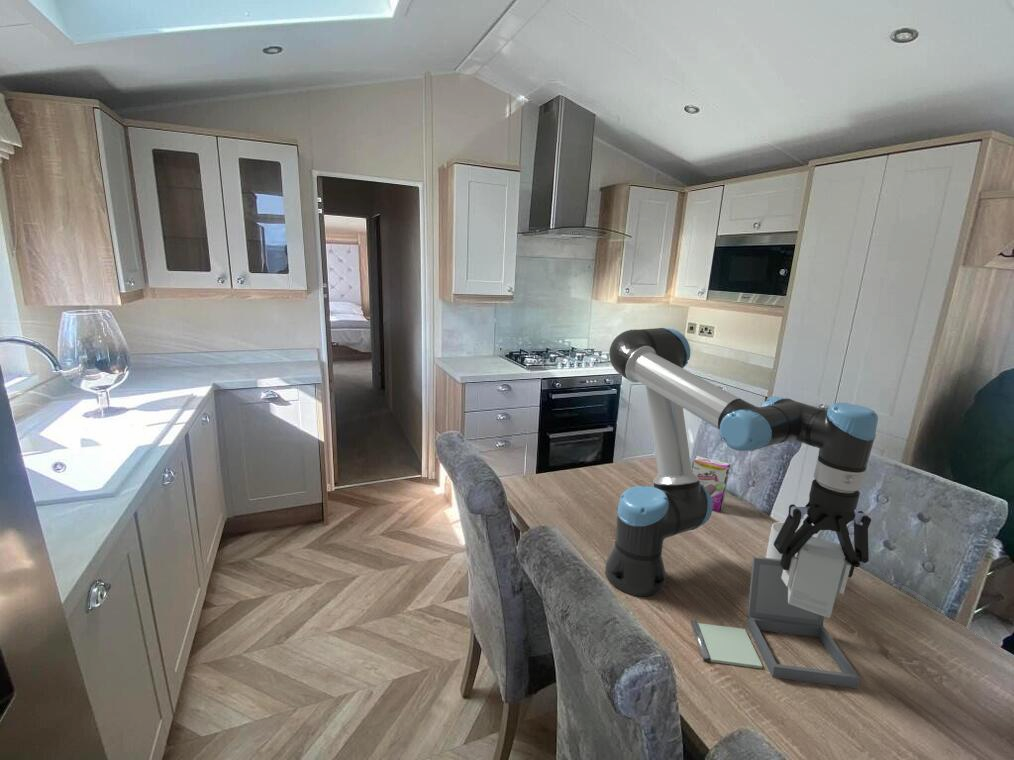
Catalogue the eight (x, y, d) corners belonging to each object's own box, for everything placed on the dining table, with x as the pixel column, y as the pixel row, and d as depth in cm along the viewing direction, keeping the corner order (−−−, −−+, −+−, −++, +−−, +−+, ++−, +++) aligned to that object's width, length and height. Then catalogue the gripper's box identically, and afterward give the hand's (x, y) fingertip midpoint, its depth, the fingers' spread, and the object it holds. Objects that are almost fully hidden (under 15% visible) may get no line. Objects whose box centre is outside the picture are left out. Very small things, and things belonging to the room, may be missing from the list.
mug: (818, 570, 126) (826, 535, 123) (783, 577, 122) (791, 541, 120) (791, 552, 134) (798, 519, 131) (758, 558, 130) (764, 524, 128)
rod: (702, 660, 95) (702, 655, 95) (689, 624, 105) (690, 619, 104) (709, 661, 95) (710, 655, 95) (696, 625, 105) (697, 620, 104)
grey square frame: (772, 677, 92) (774, 666, 91) (747, 625, 105) (748, 616, 104) (857, 688, 90) (860, 678, 89) (820, 635, 103) (823, 625, 102)
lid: (754, 558, 103) (753, 556, 104) (749, 616, 104) (747, 614, 105) (829, 566, 101) (827, 564, 102) (823, 625, 102) (821, 623, 103)
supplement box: (831, 619, 90) (845, 563, 87) (786, 604, 93) (799, 549, 90) (828, 597, 96) (842, 543, 93) (787, 583, 100) (799, 531, 96)
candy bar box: (686, 503, 159) (692, 459, 155) (689, 498, 163) (695, 454, 159) (721, 513, 153) (728, 468, 150) (723, 507, 158) (730, 462, 154)
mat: (710, 661, 95) (711, 659, 95) (697, 625, 105) (698, 623, 104) (762, 668, 94) (762, 666, 94) (744, 631, 103) (744, 629, 103)
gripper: (784, 488, 86) (762, 591, 91) (913, 500, 83) (882, 606, 89) (767, 470, 93) (748, 567, 99) (885, 481, 90) (858, 580, 96)
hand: (811, 585), depth 94 cm, fingers closed on supplement box, 9 cm apart
